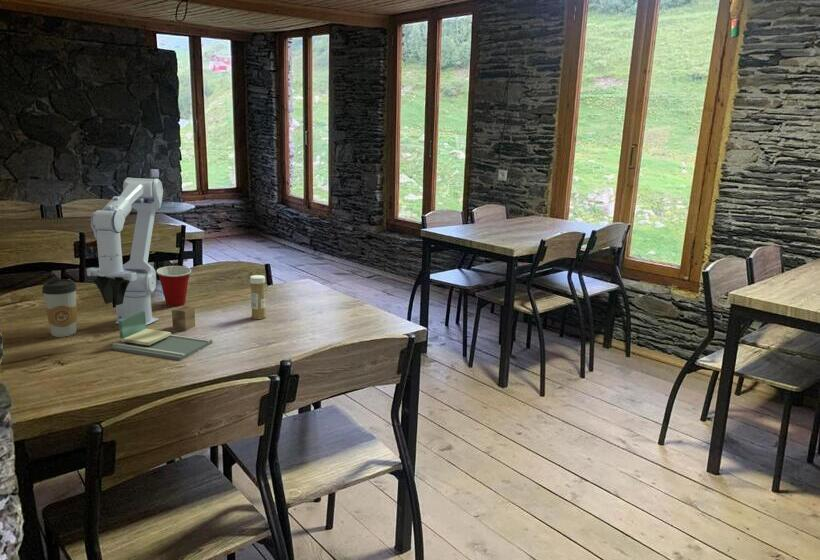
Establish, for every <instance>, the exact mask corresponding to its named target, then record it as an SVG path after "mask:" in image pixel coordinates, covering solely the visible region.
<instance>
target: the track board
mask: <svg viewBox="0 0 820 560" xmlns="http://www.w3.org/2000/svg"><path fill="white" fill-rule="evenodd" d="M212 344H213V339H208V338H207V339H206V338H200V337H192V336H188V335H187V336H185V335H179V334H172V333H171V335H170V336H168V337H166V338H164V339H162V340H159V341H157V342H155V343H153V344H151V345H148V346H146V347H145V346H143V345H142V344H136V343H130V342H129V343H127V344H126V343H125V342H123V341H121V340H120V341H118V342H113V343H112V344H111V345H109V350H113V349H114V350H115V351H119V352H125V353H133V354H138V355H145V356H151V357H156V358H157V357H158V358H163V359H169V360H176V361H182V360H184V359H185V358H188V357H189V356H192V355H193V354H195V353H196V352H198V351H201V350H203V349H204V348H206V347H207V346H209V345H212ZM114 350H113V351H114Z"/></svg>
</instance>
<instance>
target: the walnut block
mask: <svg viewBox="0 0 820 560" xmlns="http://www.w3.org/2000/svg"><path fill="white" fill-rule="evenodd" d="M195 313H196V311H195V306H187V305H186V306H185V305H181V306H176V307H175V308H172V309H171V318H172V319H171V321H172V330H177V331H182V332H183V331H184V332H187V331H189V330H191V329H194V328H196V314H195Z"/></svg>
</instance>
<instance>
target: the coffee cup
mask: <svg viewBox="0 0 820 560" xmlns="http://www.w3.org/2000/svg"><path fill="white" fill-rule="evenodd" d="M41 289H42V291H41V292H42V293H43V294H42V295H43V299H44V302H45V303H44V304H45V309H46V311H45V312H46V316H47V320H48V325H49V330H50V334H51V336H52V337H54V336H55V337H54V338H66V337H65V336H68V337H70V335H71V336H74V335H75V334H76V333H77V331H78V324H77V323H78V308H77V307H78V306H77V305H78V304H77V285H76V283H75V282H74V280H73V279H67V278H65V279H64V278H62V279H61V278H60V279H52V280H48V281H45V282H43V286H42V288H41ZM73 334H74V335H73Z"/></svg>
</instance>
